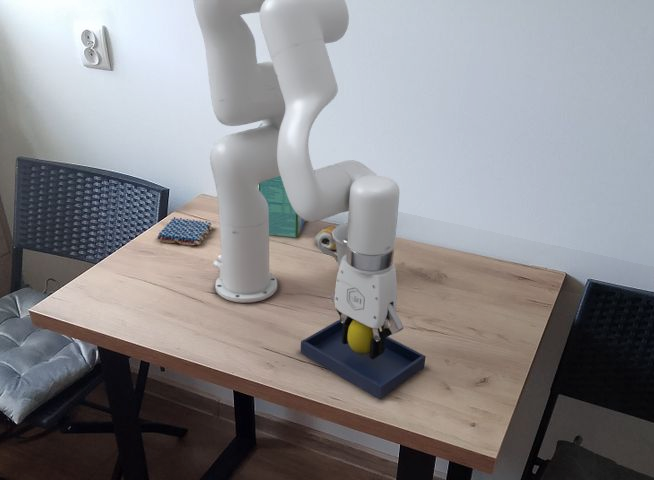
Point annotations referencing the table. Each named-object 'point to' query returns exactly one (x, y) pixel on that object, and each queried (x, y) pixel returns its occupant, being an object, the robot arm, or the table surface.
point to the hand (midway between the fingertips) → (362, 347)
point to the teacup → (339, 237)
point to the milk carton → (280, 209)
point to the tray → (363, 361)
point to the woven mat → (184, 231)
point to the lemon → (359, 337)
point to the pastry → (326, 241)
